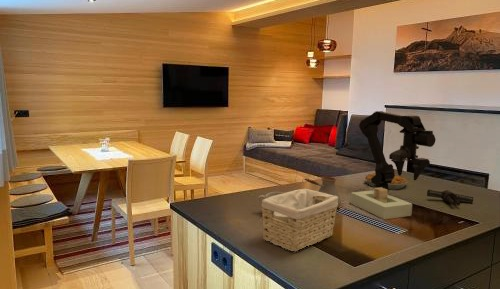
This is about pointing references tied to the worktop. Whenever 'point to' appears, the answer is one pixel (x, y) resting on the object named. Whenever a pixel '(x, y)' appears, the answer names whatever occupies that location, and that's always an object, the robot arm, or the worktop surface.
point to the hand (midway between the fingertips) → (407, 177)
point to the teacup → (268, 196)
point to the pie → (395, 184)
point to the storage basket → (298, 218)
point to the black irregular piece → (450, 197)
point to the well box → (381, 205)
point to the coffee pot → (326, 187)
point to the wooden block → (380, 194)
